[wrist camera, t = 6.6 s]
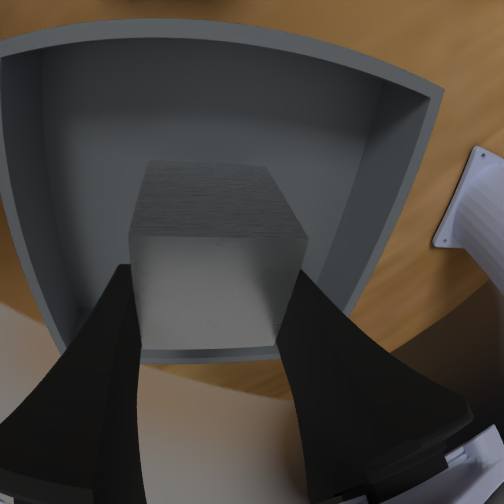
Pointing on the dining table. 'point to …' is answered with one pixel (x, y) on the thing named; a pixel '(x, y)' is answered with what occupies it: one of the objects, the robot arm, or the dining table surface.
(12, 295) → the dining table surface
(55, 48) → the tote
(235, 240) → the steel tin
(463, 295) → the dining table surface
